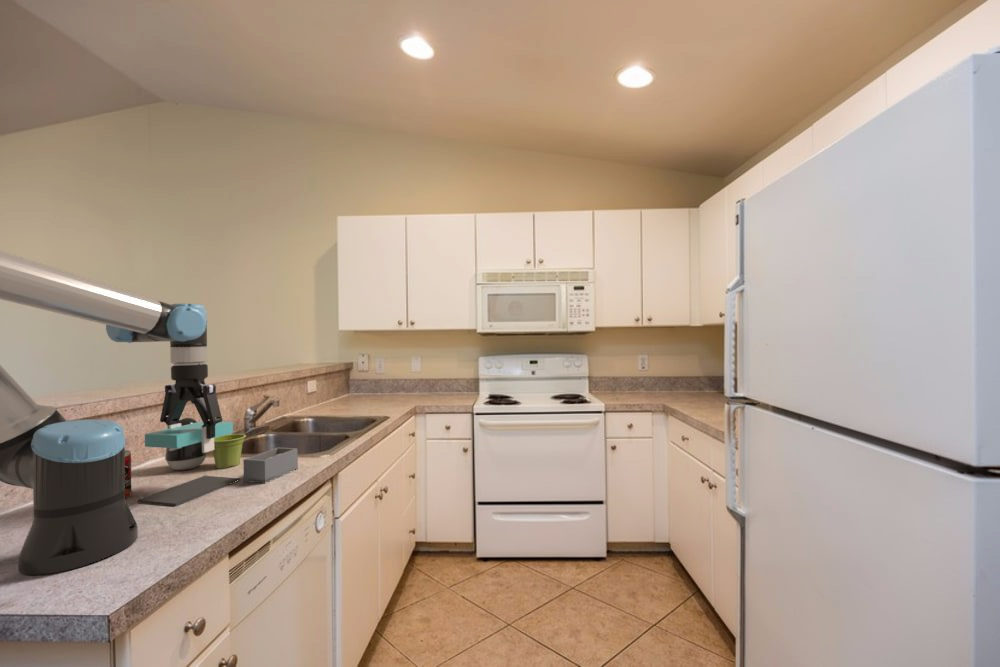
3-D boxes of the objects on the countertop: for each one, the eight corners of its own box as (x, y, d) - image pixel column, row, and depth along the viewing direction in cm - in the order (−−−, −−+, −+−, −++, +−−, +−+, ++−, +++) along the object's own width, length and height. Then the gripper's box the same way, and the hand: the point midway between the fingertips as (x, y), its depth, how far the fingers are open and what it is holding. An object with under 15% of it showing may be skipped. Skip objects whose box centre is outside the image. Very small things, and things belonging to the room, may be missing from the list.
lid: (233, 432, 110) (232, 421, 110) (177, 448, 95) (176, 435, 95) (203, 431, 112) (203, 420, 112) (144, 446, 98) (144, 434, 98)
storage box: (297, 468, 119) (297, 448, 119) (265, 483, 108) (264, 460, 108) (278, 467, 121) (277, 447, 121) (243, 481, 109) (243, 459, 109)
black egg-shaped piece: (206, 460, 130) (205, 413, 130) (209, 467, 122) (208, 417, 122) (165, 467, 124) (164, 417, 124) (165, 475, 116) (164, 422, 116)
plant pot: (220, 461, 128) (219, 434, 128) (251, 460, 129) (251, 433, 129) (202, 471, 119) (201, 442, 119) (236, 469, 120) (235, 440, 120)
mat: (176, 506, 94) (176, 503, 94) (137, 502, 97) (137, 499, 97) (239, 480, 110) (239, 478, 110) (204, 477, 113) (204, 475, 113)
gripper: (238, 362, 105) (240, 448, 105) (170, 363, 110) (172, 444, 110) (210, 364, 97) (213, 456, 97) (140, 365, 103) (142, 452, 103)
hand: (191, 450), depth 104 cm, fingers closed on lid, 10 cm apart
